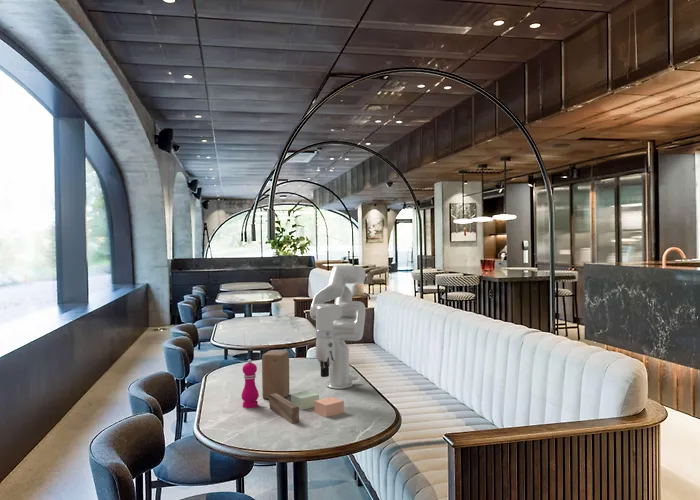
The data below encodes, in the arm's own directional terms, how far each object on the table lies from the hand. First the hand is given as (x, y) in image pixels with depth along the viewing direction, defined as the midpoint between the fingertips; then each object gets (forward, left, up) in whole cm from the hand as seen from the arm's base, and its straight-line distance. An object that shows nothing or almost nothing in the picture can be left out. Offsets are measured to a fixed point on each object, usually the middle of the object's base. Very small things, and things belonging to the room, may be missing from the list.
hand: (324, 376), depth 236 cm
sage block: (+10, 0, -11) cm, 15 cm away
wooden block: (+15, -20, -11) cm, 27 cm away
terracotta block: (+6, +13, -11) cm, 18 cm away
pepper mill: (+30, -13, -11) cm, 34 cm away
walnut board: (+23, +6, -11) cm, 26 cm away
